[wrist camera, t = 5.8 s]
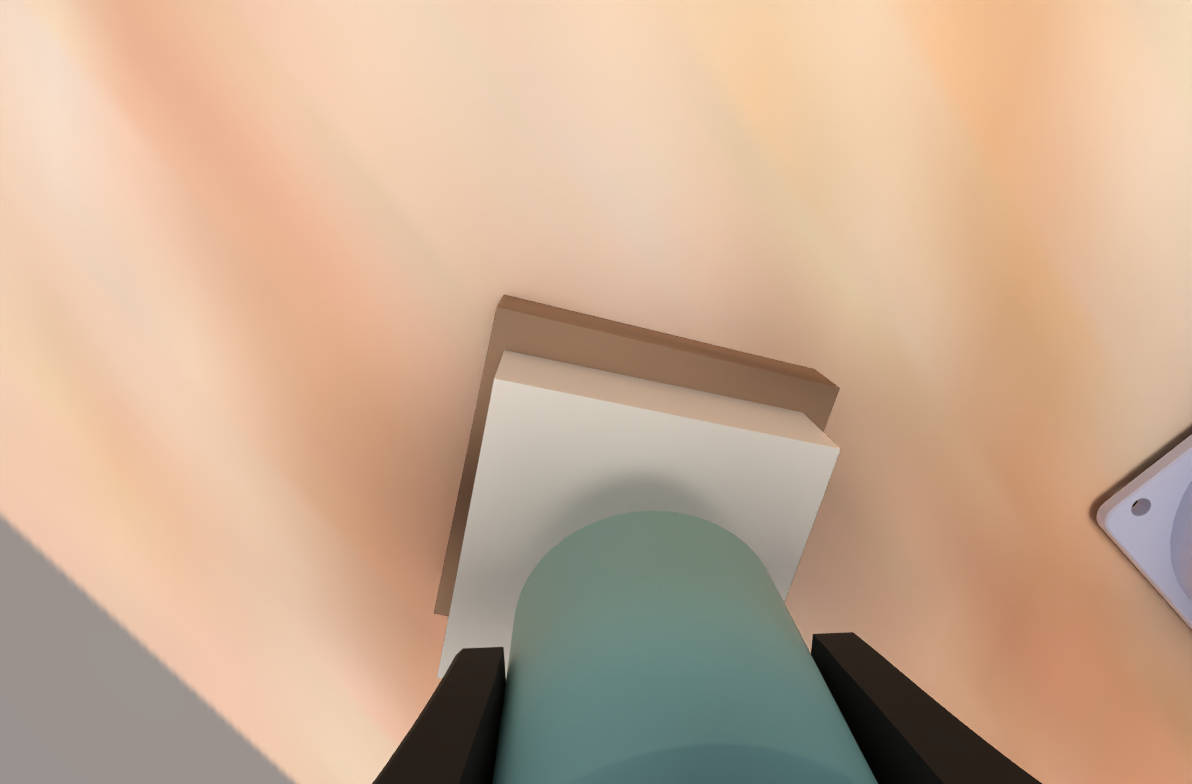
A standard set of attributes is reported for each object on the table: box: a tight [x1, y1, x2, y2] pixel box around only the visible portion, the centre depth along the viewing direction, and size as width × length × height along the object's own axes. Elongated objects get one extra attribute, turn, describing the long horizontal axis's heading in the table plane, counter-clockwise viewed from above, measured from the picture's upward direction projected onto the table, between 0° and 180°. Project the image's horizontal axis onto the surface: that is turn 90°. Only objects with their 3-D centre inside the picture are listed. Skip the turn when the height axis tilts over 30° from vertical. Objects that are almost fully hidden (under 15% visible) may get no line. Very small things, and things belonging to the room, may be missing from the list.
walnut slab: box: [434, 295, 840, 616], centre depth 17 cm, size 8×8×2 cm
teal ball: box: [492, 511, 878, 784], centre depth 9 cm, size 5×5×5 cm
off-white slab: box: [437, 350, 841, 678], centre depth 15 cm, size 7×7×2 cm
